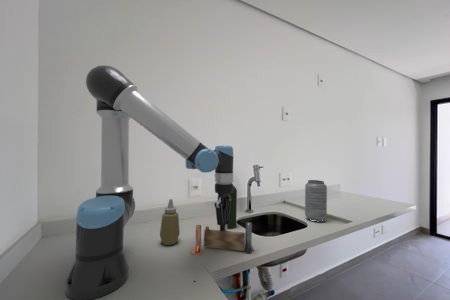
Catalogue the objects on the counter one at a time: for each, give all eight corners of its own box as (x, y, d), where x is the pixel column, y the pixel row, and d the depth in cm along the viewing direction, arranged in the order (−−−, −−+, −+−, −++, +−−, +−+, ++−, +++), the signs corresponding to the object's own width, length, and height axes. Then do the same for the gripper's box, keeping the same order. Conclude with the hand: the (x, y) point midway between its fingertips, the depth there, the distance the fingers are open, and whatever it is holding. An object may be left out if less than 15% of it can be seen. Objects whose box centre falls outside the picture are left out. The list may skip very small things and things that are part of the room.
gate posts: (251, 246, 80) (252, 219, 80) (254, 254, 73) (255, 225, 73) (193, 245, 79) (193, 218, 79) (190, 254, 72) (191, 224, 72)
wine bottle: (218, 226, 101) (219, 168, 102) (228, 222, 107) (229, 168, 108) (229, 230, 96) (230, 169, 97) (239, 226, 102) (240, 169, 103)
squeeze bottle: (173, 236, 87) (174, 196, 88) (183, 242, 82) (184, 199, 82) (156, 242, 82) (157, 199, 82) (165, 249, 76) (166, 202, 76)
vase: (330, 221, 113) (330, 181, 114) (319, 224, 107) (320, 182, 107) (311, 215, 123) (312, 179, 123) (300, 218, 116) (301, 180, 117)
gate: (244, 248, 76) (244, 229, 76) (244, 250, 74) (244, 231, 75) (205, 244, 79) (205, 226, 79) (203, 246, 77) (204, 227, 77)
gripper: (222, 180, 88) (221, 232, 87) (208, 184, 76) (207, 245, 76) (237, 181, 85) (237, 235, 84) (226, 186, 73) (225, 249, 73)
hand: (223, 240), depth 80 cm, fingers closed
